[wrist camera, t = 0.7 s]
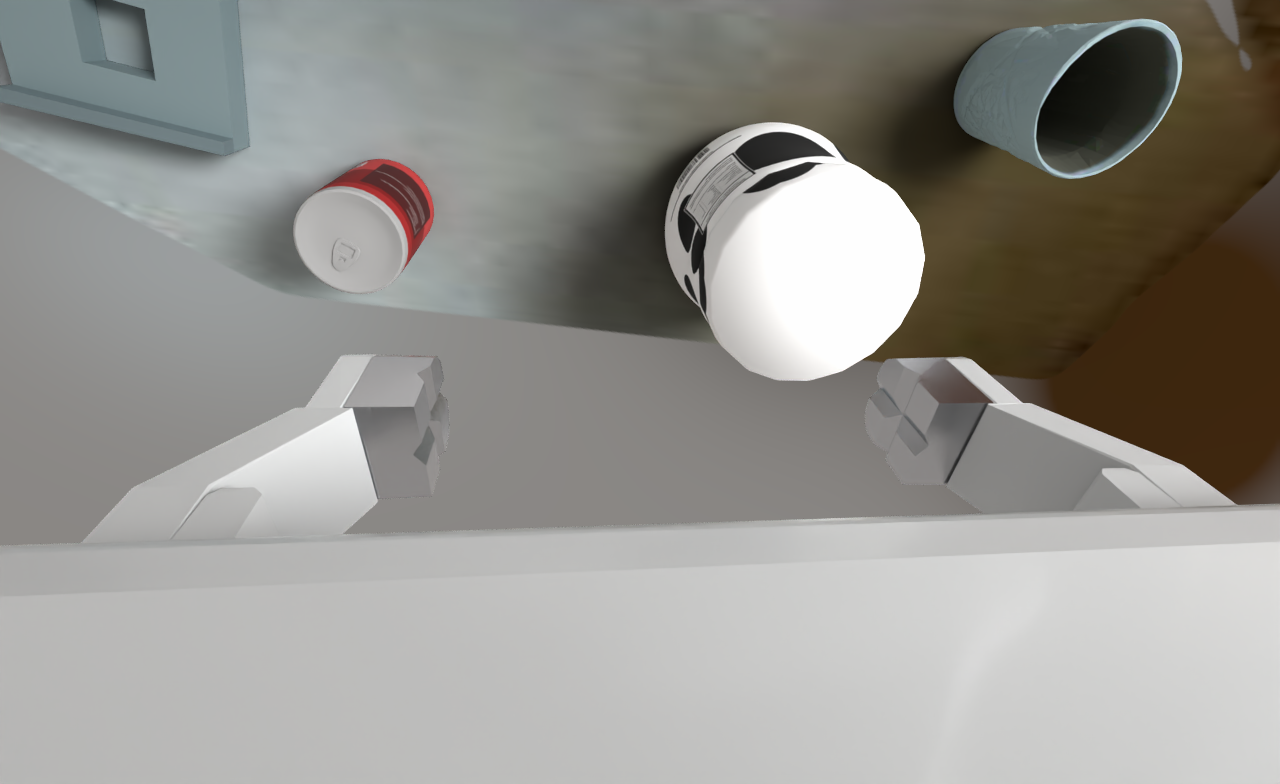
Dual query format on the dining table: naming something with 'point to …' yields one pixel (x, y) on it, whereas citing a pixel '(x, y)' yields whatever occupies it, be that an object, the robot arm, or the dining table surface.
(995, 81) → the pale blue cup
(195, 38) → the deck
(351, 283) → the canned food
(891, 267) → the milk container
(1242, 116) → the dining table surface
